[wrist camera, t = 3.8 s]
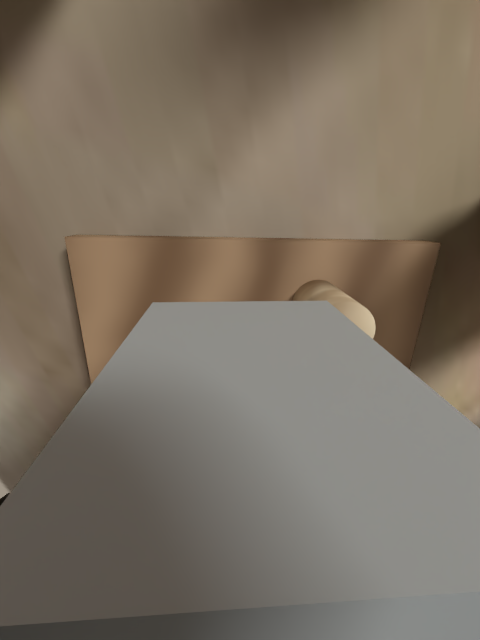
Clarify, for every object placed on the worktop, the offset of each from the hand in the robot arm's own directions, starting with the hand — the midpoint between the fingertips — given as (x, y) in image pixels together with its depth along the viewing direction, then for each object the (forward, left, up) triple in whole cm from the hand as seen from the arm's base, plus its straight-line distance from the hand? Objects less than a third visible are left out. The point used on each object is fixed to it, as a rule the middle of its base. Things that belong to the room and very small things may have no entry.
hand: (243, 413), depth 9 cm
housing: (0, 0, -2) cm, 2 cm away
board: (-1, +4, -13) cm, 14 cm away
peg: (-5, 0, -12) cm, 13 cm away
